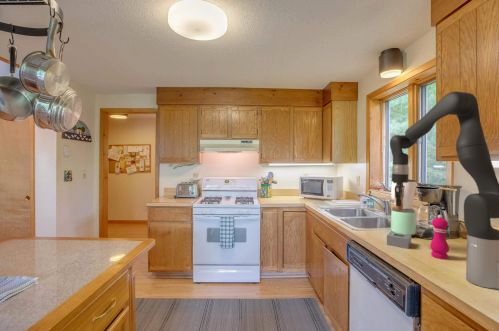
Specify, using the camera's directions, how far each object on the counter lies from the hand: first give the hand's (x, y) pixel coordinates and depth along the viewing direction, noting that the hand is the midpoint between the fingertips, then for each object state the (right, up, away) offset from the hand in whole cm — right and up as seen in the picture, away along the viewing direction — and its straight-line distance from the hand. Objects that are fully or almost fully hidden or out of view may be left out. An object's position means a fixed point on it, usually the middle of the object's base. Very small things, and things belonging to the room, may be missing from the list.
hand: (399, 205), depth 132 cm
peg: (0, -3, 0) cm, 3 cm away
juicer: (+15, -22, +22) cm, 35 cm away
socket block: (+2, -22, +4) cm, 22 cm away
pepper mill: (+11, -22, -14) cm, 28 cm away
